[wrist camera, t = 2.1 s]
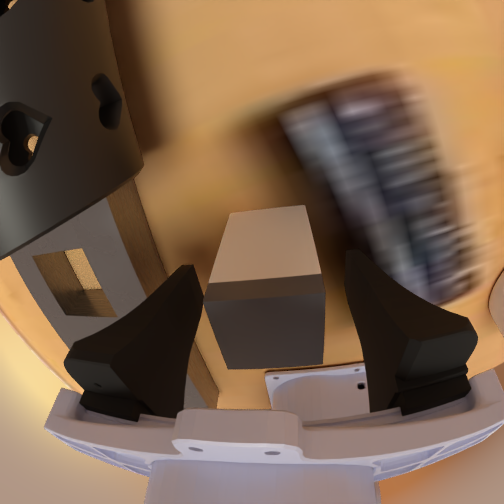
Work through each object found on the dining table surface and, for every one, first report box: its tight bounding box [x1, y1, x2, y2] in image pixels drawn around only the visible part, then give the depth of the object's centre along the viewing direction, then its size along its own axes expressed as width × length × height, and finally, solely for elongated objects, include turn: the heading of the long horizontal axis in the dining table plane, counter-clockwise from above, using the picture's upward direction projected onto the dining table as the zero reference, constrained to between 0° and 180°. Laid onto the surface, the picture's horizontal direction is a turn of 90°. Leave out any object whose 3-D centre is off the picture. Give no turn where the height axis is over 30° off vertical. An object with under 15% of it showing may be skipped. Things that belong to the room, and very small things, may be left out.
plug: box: [203, 205, 325, 369], centre depth 13 cm, size 4×4×7 cm
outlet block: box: [10, 179, 219, 409], centre depth 19 cm, size 11×22×3 cm, turn 9°
